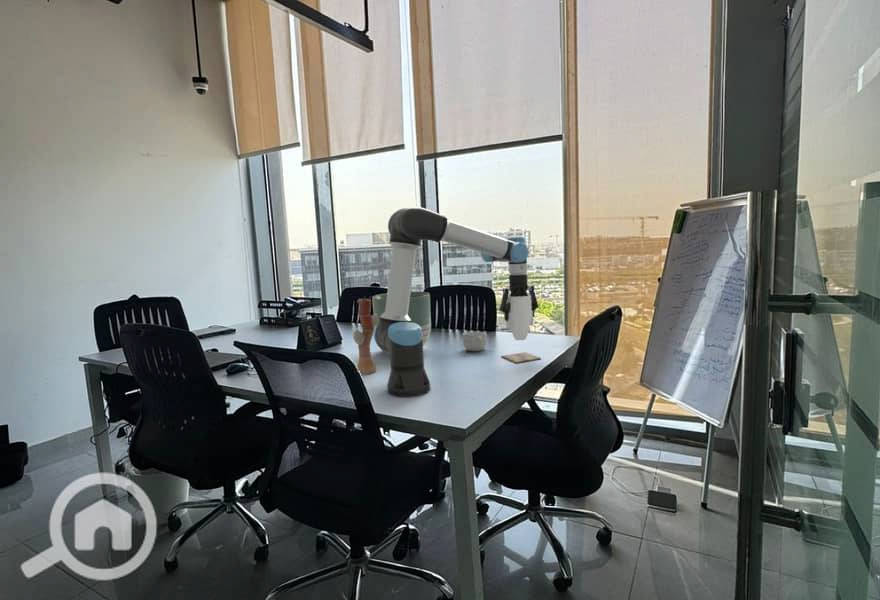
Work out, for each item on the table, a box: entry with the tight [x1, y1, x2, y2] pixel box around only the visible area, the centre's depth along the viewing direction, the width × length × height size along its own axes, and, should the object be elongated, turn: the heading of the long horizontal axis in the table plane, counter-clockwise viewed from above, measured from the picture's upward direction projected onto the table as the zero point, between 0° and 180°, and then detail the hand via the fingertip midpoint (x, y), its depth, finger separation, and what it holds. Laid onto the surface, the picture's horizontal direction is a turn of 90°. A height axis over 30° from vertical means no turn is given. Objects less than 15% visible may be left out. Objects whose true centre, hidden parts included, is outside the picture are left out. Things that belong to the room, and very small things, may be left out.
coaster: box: [501, 351, 542, 364], centre depth 204 cm, size 12×12×1 cm
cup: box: [507, 293, 532, 341], centre depth 202 cm, size 10×10×22 cm
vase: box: [352, 298, 378, 376], centre depth 194 cm, size 10×7×30 cm
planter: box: [371, 291, 432, 347], centre depth 225 cm, size 27×27×27 cm
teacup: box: [462, 331, 487, 352], centre depth 221 cm, size 14×11×8 cm
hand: (519, 326), depth 202 cm, fingers closed on cup, 10 cm apart
